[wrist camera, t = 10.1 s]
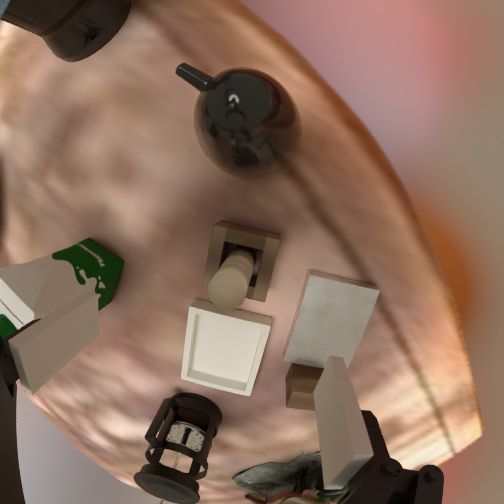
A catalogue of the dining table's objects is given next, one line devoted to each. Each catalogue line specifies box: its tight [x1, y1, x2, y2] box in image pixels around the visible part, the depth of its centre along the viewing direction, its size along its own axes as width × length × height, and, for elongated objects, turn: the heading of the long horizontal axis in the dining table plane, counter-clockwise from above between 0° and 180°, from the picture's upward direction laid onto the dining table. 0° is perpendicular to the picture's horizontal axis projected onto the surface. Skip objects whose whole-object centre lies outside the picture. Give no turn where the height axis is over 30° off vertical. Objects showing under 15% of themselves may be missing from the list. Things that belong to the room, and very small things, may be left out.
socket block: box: [203, 221, 280, 302], centre depth 31 cm, size 7×7×4 cm
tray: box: [181, 299, 271, 396], centre depth 35 cm, size 12×10×2 cm
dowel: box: [208, 245, 257, 310], centre depth 27 cm, size 3×3×12 cm
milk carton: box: [0, 238, 124, 339], centre depth 26 cm, size 9×9×20 cm
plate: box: [283, 270, 380, 369], centre depth 33 cm, size 12×9×2 cm
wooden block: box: [286, 364, 324, 411], centre depth 33 cm, size 3×5×6 cm, turn 78°
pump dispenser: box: [176, 63, 302, 178], centre depth 22 cm, size 10×10×15 cm
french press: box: [134, 393, 222, 504], centre depth 29 cm, size 12×9×23 cm
